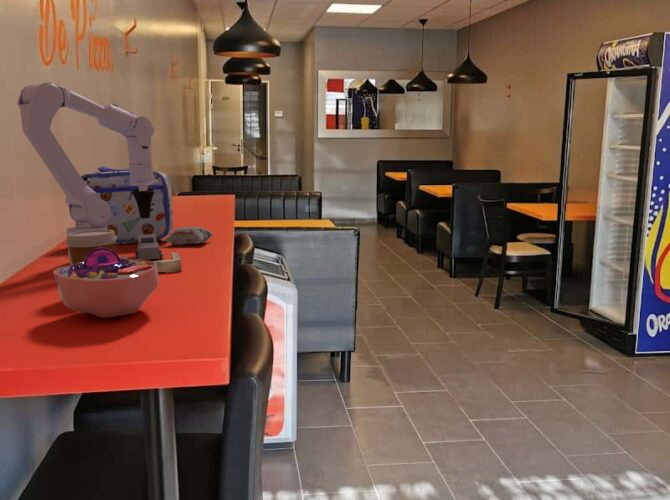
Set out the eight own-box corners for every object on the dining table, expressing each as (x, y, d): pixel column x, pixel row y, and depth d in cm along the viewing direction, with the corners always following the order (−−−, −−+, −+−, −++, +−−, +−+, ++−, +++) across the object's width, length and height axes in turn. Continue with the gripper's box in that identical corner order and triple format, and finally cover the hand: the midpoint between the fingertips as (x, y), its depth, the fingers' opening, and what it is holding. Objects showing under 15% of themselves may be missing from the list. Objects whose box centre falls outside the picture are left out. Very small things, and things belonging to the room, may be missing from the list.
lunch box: (72, 247, 199) (64, 169, 196) (84, 241, 210) (76, 167, 206) (170, 243, 200) (164, 165, 197) (177, 237, 210) (171, 163, 207)
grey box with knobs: (135, 262, 171) (134, 240, 170) (135, 256, 180) (133, 235, 179) (163, 260, 173) (161, 238, 172) (161, 254, 182) (159, 233, 181)
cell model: (61, 336, 110) (53, 264, 108) (55, 308, 128) (49, 247, 126) (171, 321, 116) (165, 253, 114) (151, 297, 134) (146, 238, 133)
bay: (121, 276, 155) (120, 265, 155) (121, 267, 166) (120, 256, 166) (181, 271, 159) (180, 260, 158) (178, 262, 170) (177, 252, 169)
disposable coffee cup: (74, 301, 133) (68, 238, 131) (68, 292, 141) (61, 232, 139) (126, 294, 137) (120, 233, 135) (116, 285, 146) (111, 227, 144)
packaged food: (203, 247, 192) (202, 229, 191) (162, 247, 194) (160, 229, 193) (214, 242, 200) (213, 225, 200) (174, 243, 202) (173, 225, 202)
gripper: (157, 164, 176) (162, 218, 178) (155, 162, 190) (159, 213, 192) (128, 165, 174) (133, 220, 176) (128, 163, 188) (132, 214, 190)
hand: (145, 217), depth 184 cm, fingers open, 5 cm apart
